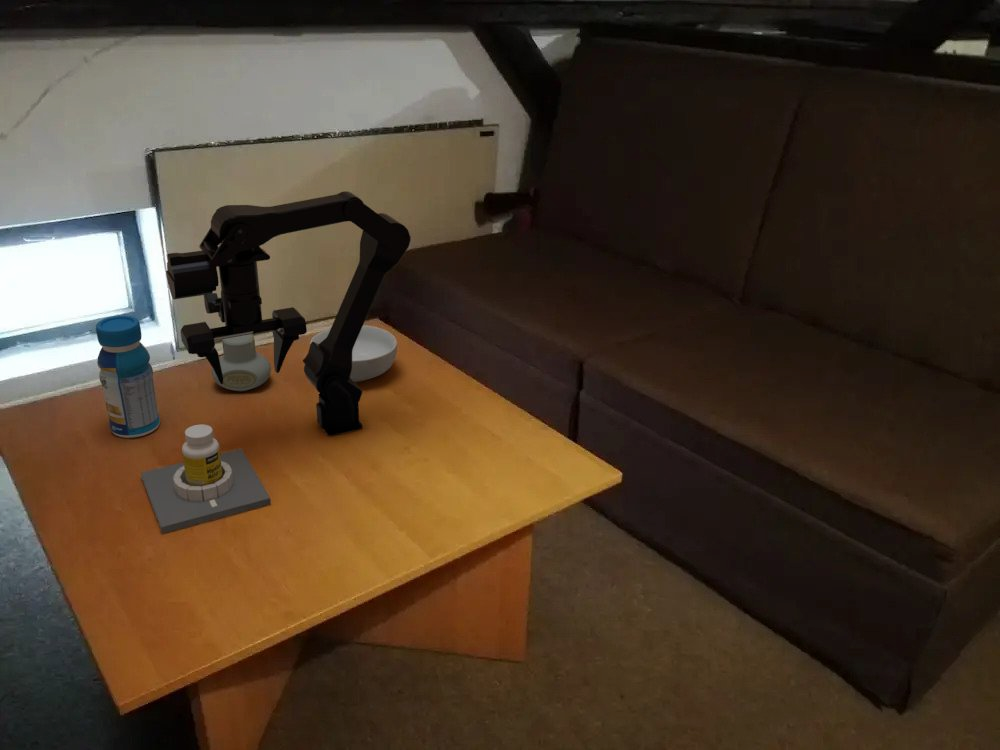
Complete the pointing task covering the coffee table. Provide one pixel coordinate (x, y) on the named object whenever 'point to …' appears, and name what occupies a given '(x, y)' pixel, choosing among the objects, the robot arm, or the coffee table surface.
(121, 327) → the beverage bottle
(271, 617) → the coffee table surface
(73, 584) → the coffee table surface
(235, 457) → the mount plate
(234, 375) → the air freshener
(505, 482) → the coffee table surface
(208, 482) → the supplement bottle
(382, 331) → the cereal bowl
